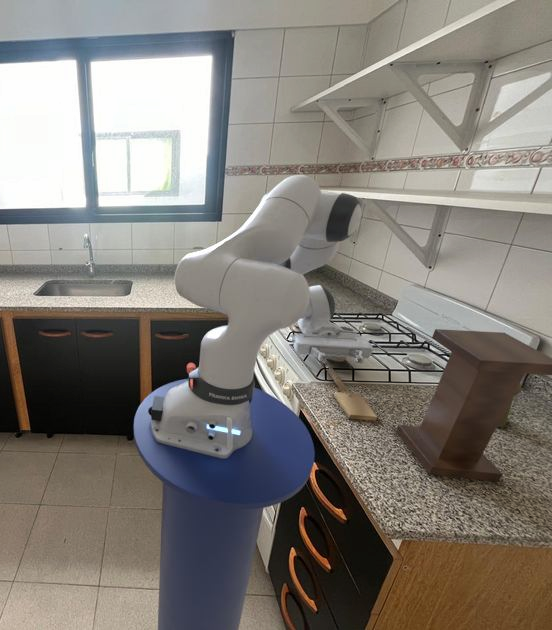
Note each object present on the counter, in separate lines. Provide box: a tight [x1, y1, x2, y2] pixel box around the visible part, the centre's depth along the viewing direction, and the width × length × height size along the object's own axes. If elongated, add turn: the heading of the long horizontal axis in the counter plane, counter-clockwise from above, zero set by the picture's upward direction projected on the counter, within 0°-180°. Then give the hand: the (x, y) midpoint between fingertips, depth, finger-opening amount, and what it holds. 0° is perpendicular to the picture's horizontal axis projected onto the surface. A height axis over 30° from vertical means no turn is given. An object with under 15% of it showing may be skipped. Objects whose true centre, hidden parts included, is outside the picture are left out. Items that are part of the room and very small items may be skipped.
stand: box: [395, 328, 552, 482], centre depth 67 cm, size 12×12×26 cm
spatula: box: [325, 364, 378, 422], centre depth 92 cm, size 6×23×2 cm, turn 172°
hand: (341, 359), depth 94 cm, fingers open, 8 cm apart
